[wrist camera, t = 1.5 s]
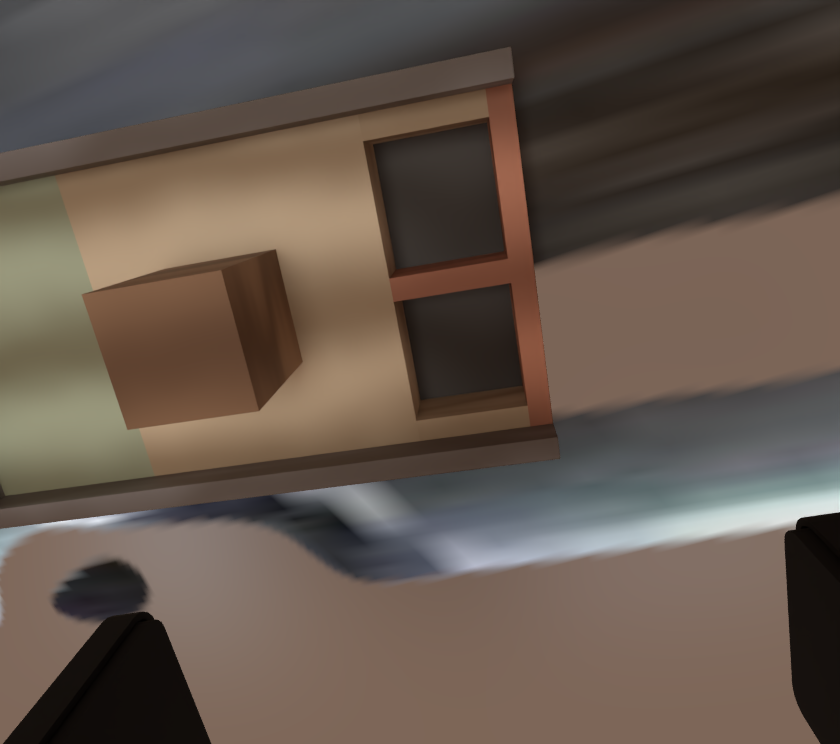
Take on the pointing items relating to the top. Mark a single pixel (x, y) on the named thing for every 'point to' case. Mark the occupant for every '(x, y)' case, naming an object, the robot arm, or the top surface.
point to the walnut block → (196, 339)
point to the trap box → (305, 287)
